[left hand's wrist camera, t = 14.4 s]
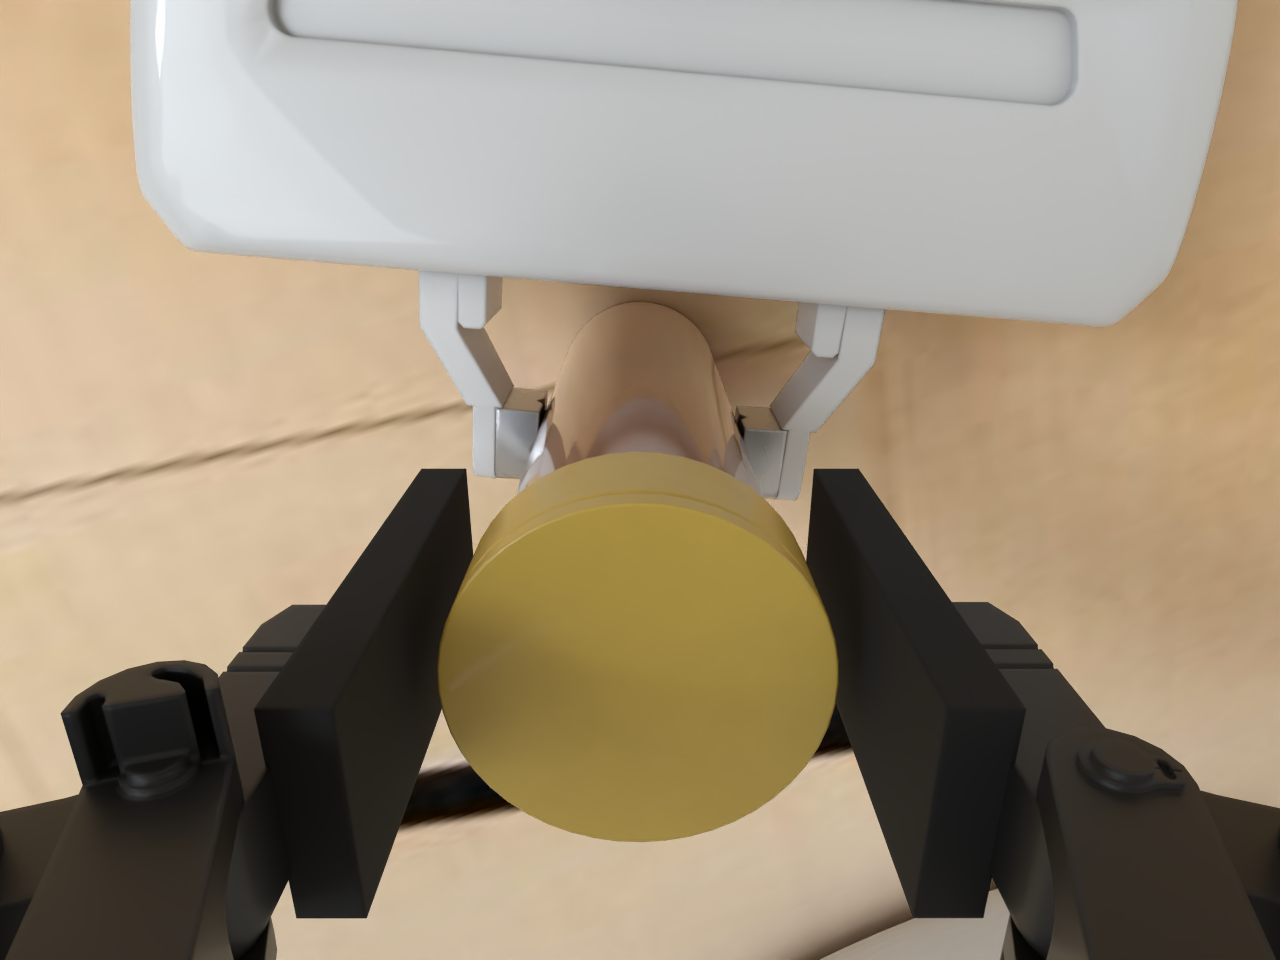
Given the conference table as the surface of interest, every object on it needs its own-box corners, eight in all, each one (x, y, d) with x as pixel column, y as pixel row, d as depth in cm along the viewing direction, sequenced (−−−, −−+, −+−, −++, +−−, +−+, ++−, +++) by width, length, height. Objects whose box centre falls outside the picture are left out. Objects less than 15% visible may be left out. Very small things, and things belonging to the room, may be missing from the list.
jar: (746, 375, 25) (886, 664, 11) (641, 476, 26) (642, 856, 12) (637, 268, 24) (632, 432, 10) (533, 379, 25) (392, 672, 11)
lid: (882, 608, 12) (923, 683, 10) (642, 804, 13) (642, 900, 12) (632, 374, 11) (630, 415, 9) (395, 616, 12) (354, 692, 10)
